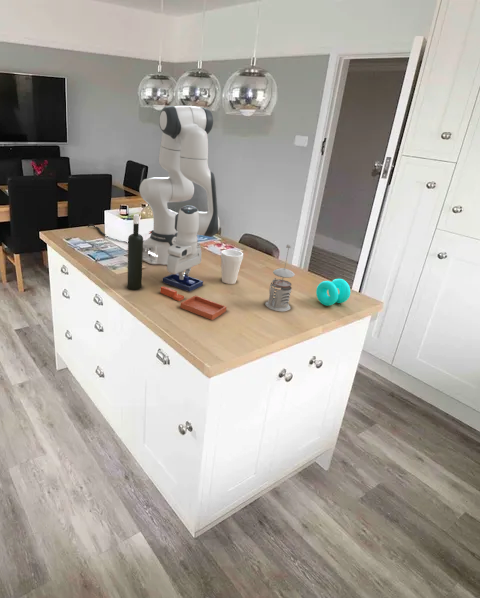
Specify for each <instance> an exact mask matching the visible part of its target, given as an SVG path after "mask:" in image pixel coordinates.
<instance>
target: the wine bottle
mask: <svg viewBox="0 0 480 598" xmlns="http://www.w3.org/2000/svg"><path fill="white" fill-rule="evenodd" d="M132 219H133V220H132V224H133V226H132V227H133V229H132V230H133V231H132V232H133V233H130V234H129V236H128V238H127V241H128V243H127V276H126V277H127V278H126V279H127V282H126V286H127V289H128V290H131V291H140V290H141V289H142V285H143V284H142V283H143V260H142V259H143V240H144V237H143V236H142V234H140V233H139V232H140V231H139V230H140V229H139V225H140V214H139V213H134V214H133V218H132Z"/></svg>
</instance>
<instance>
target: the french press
mask: <svg viewBox="0 0 480 598" xmlns="http://www.w3.org/2000/svg"><path fill="white" fill-rule="evenodd" d="M285 247H286V248H287V252H286V253H287V254H286V256H288V255H289V249H292V245H291V244H290V243H289V244H286V246H285ZM287 261H288V257H286V258H285V263H284V267H280V268H279V267H278V268H276V269H274V270H273V271H272V273H273V275H275V276H276V277H279V278H281V279H279V278H278V279H277V278H275V277H274V278H273V279H272V281H271V283H270V286H269V296H268V301H266V302H265V306H266V307H267V308H268V309H269V310H272V311H275V312H276V311H277V312H286V311H287V312H288V311H290V310H291V306H290V304H289V303H290V299H291V294H292V290H293V289H292V282H290V281H289V280H285V279H290V278H293V277H294V276H296V274H295V272H293V271H292V270H290V269H289V268H286V266H287Z"/></svg>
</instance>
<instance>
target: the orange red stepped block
mask: <svg viewBox="0 0 480 598" xmlns="http://www.w3.org/2000/svg"><path fill="white" fill-rule="evenodd" d="M160 294H162V295H164V296H167V297H170V298H172V299H173V300H175V301H178V302H181V301H182V300H184V299H185V295H182V294H180V293H178V291H177V290H176V289H172V288H169V287H167V286H165V285H163V286H160Z"/></svg>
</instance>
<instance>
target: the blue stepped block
mask: <svg viewBox="0 0 480 598" xmlns="http://www.w3.org/2000/svg"><path fill="white" fill-rule="evenodd" d="M189 277H190V276H189ZM189 277H187V276H185V279H183V280H180V279H179V274H178V273H177V274H174V277H173V280H176V281H179V282H182V283H185V284H186V285H189V286H192V285H194V284H196V282H195V281H192V280H189Z"/></svg>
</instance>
